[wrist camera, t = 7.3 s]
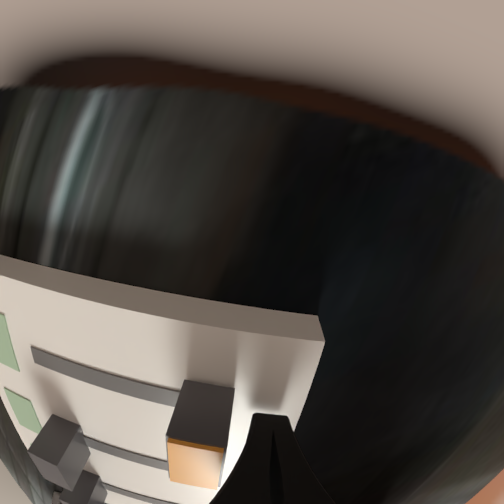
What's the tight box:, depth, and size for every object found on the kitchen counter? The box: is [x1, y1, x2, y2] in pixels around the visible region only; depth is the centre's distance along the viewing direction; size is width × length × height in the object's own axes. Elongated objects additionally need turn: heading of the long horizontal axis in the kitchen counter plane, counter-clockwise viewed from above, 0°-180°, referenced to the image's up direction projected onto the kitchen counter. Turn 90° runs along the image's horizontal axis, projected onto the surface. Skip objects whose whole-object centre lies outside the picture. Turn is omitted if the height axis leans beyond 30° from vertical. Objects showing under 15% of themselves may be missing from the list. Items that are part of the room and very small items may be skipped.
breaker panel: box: [0, 255, 325, 504], centre depth 13 cm, size 18×20×5 cm
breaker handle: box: [165, 379, 235, 490], centre depth 10 cm, size 2×3×3 cm, turn 172°
